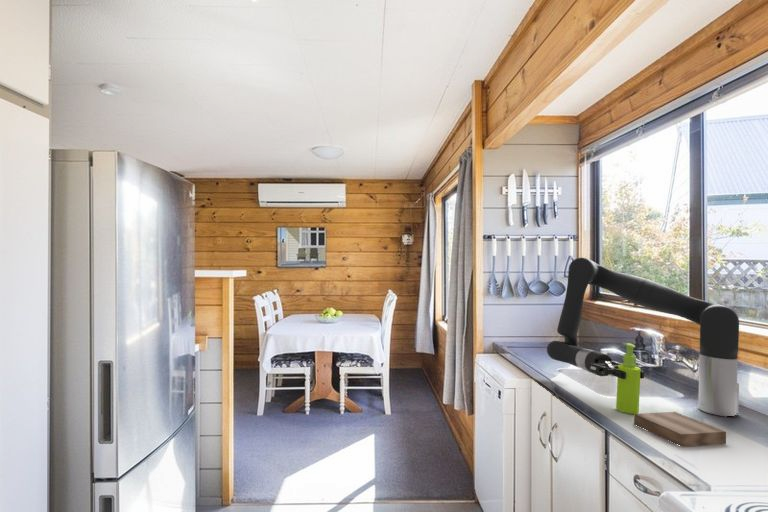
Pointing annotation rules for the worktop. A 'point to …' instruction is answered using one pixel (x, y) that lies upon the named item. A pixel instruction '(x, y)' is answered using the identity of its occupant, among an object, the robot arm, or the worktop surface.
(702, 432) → the wooden cutting board
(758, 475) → the worktop surface
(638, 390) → the soap dispenser
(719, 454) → the worktop surface
